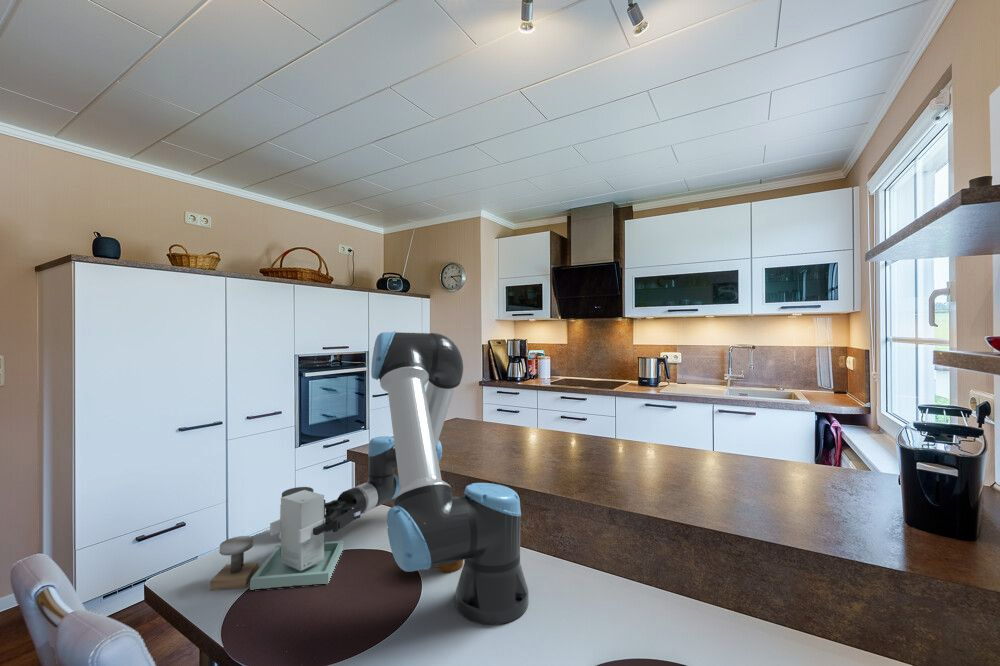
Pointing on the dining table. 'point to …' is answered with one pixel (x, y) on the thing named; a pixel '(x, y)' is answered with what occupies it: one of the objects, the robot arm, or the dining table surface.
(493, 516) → the robot arm
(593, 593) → the dining table surface
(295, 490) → the jar
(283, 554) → the skincare box
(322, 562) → the tray
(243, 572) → the mushroom shaped stand
